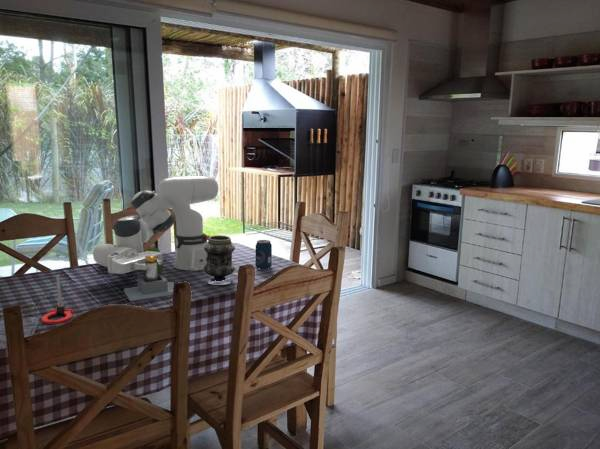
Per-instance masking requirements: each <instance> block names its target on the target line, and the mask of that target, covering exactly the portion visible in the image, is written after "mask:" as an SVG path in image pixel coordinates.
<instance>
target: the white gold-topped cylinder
mask: <svg viewBox="0 0 600 449" xmlns="http://www.w3.org/2000/svg"><path fill="white" fill-rule="evenodd" d="M145 262H146V264H148V269H146V274H145V276H146V277H147V282H153V281H158V277H157V256H154V255H152V256H146V257H145Z"/></svg>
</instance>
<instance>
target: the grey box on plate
mask: <svg viewBox="0 0 600 449" xmlns="http://www.w3.org/2000/svg"><path fill="white" fill-rule="evenodd" d="M157 277H158V281H153V282H147V277H146V275H145V276H138V277H137V286H133V287H126V288H123V292H124V294H125V295H126V297H127V298H128V300H129V301H130V302H133V301H139V300H140V301H141V300H146V299H154V298H160V297H166V296H173V295H172V294H173V285H174V283H175V282H174V281H172V282H171V281H170V282H169V281H168V279H167V278H166V277H165V276H164V275H162V274H161V273H160V274H159V275H157Z"/></svg>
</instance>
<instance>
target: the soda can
mask: <svg viewBox="0 0 600 449" xmlns="http://www.w3.org/2000/svg"><path fill="white" fill-rule="evenodd" d="M272 246H273V245H272V243H271V240H269V239H259V240H257V241H256V244H255V263H254V264H255V267H257V268H260V269H268V268H270V267H272V264H273V263H272V260H273V259H272V251H273V249H272V248H273V247H272ZM257 268H256V269H257ZM270 269H271V268H270Z"/></svg>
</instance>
